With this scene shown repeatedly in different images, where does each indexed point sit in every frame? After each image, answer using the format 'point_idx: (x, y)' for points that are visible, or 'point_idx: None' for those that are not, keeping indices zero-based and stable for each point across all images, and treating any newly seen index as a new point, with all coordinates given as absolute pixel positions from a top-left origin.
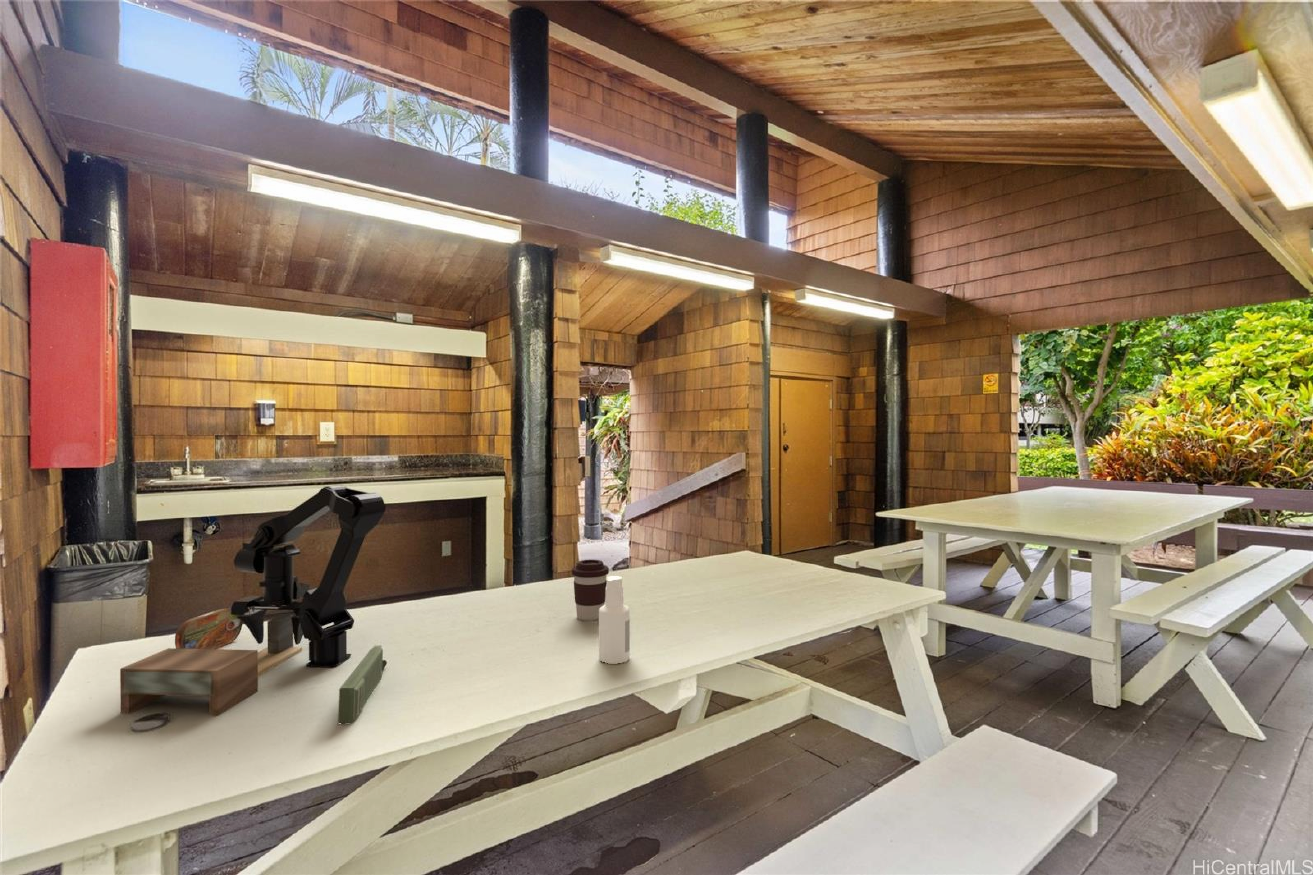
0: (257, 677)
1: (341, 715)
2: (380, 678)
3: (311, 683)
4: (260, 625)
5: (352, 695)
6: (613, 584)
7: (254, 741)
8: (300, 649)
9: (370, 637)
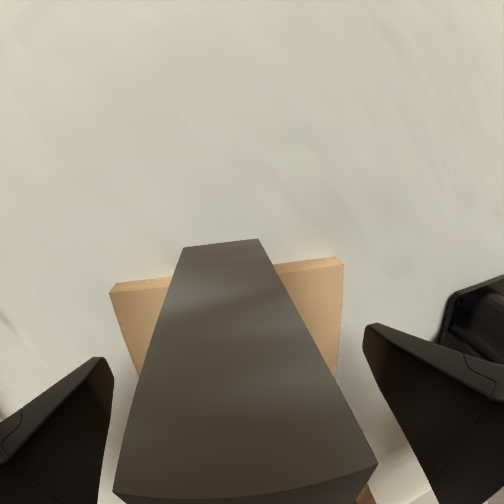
0: (372, 496)
1: None
2: None
3: None
4: (59, 458)
5: None
6: None
7: (412, 488)
8: (340, 276)
9: (487, 67)
